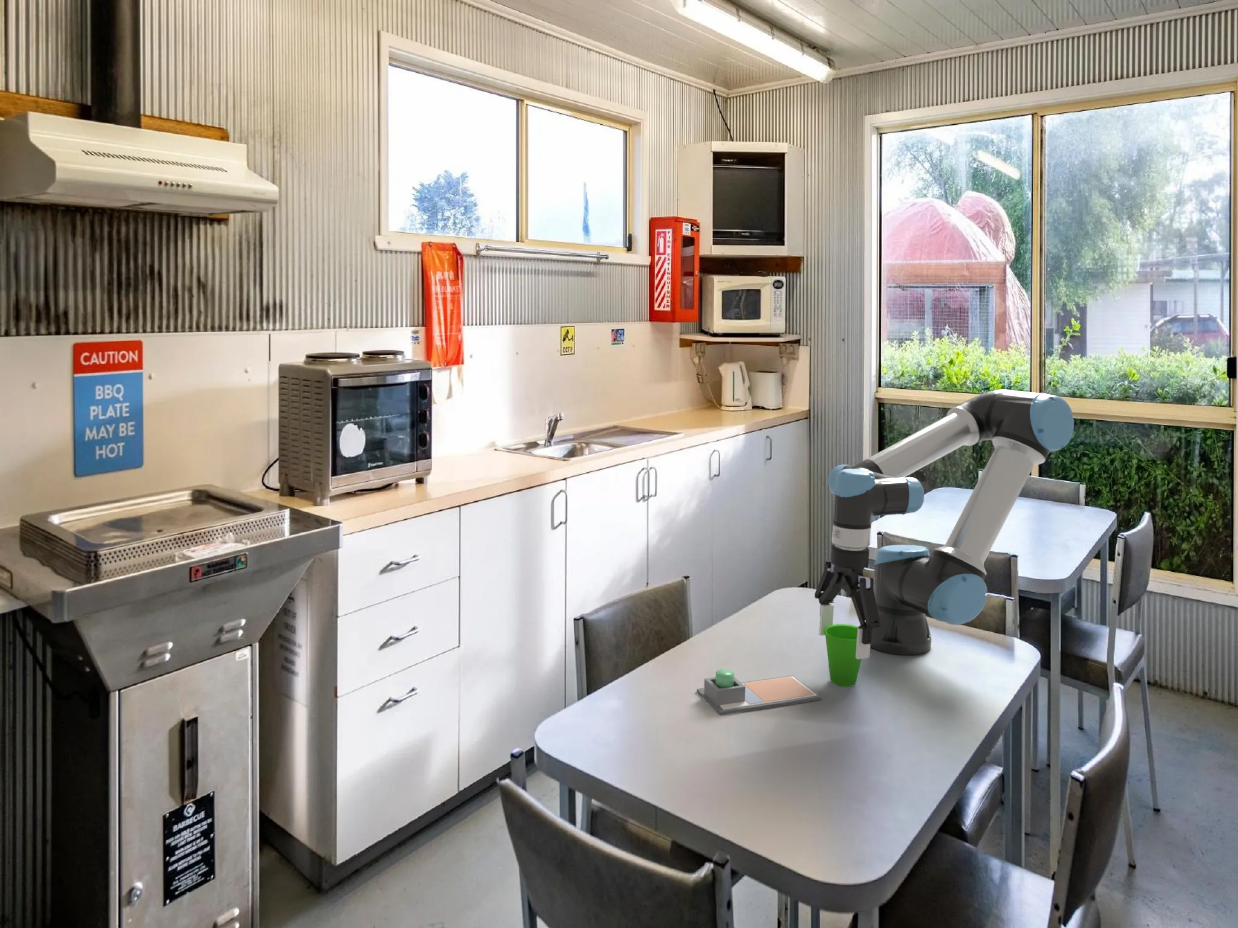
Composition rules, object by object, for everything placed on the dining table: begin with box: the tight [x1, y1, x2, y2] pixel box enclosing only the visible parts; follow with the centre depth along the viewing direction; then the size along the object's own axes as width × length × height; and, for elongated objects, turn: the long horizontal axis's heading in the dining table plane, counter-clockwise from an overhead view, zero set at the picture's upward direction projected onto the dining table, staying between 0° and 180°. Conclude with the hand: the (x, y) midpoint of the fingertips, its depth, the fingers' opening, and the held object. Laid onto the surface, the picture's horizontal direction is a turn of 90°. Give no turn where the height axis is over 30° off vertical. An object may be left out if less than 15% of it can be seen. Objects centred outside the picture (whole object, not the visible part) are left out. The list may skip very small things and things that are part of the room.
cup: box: [823, 623, 862, 688], centre depth 184 cm, size 9×9×11 cm
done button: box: [715, 668, 735, 689], centre depth 175 cm, size 4×4×3 cm
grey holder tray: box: [696, 674, 822, 716], centre depth 177 cm, size 22×11×4 cm, turn 109°
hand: (843, 645), depth 183 cm, fingers open, 13 cm apart
